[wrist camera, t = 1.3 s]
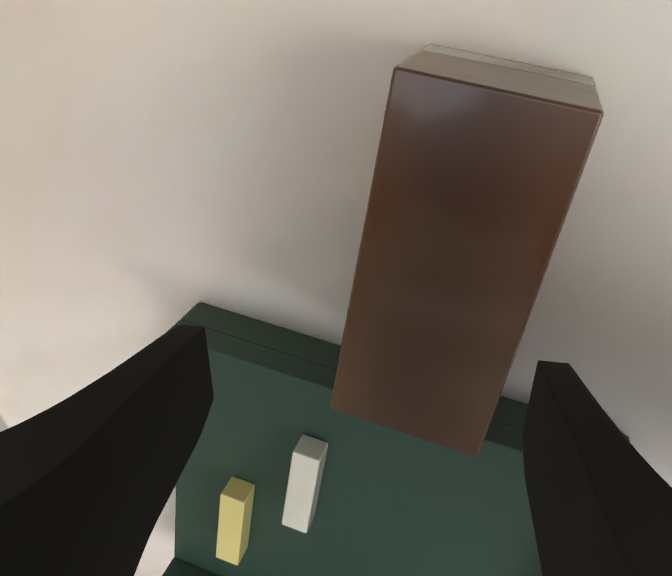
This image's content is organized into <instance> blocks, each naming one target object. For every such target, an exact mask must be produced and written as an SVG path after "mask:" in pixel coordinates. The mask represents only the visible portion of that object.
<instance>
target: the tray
mask: <svg viewBox="0 0 672 576" xmlns="http://www.w3.org/2000/svg"><path fill="white" fill-rule="evenodd" d="M179 324H180V325H190V326H200V327H205V331H206V339H207V347H208V355H209V362H210V370H211V378H212V386H213V393H214V399H213V402H212V405H211V408H210V411H209V414H208V417H207V420H206V423H205V425H204V428H203V431H202V433H201V436H200V438H199V440H198V442H197V444H196V446H195V448H194V450H193V452H192V454H191V456H190V458H189V460H188V462H187V464H186V466H185V468H184V470H183V472H182V474H181V475H180V477H179V479H178V481H177V483H176V517H175V558H173V560H172V561H171V563H170V564H169V566H168V567H167V569H166V571H165V572H164V574H163V575H162V576H543V575H542V570H541V565H540V559H539V554H538V548H537V543H536V538H535V532H534V527H533V522H532V516H531V511H530V505H529V500H528V494H527V488H526V483H525V475H524V459H523V438H522V433H523V428H524V423H525V419H526V414H527V409H528V405H526V404H523V403H520V402H517V401H513V400H510V399H507V398H504V397H501V396H500V397H499V400H498V403H497V406H496V408H495V411H494V414H493V417H492V419H491V422H490V425H489V427H488V430H487V433H486V436H485V438H484V441H483V444H482V446H481V449H480V452H479V454H478V456H472V455H469V454H466V453H463V452H460V451H457V450H454V449H451V448H448V447H445V446H442V445H439V444H436V443H433V442H430V441H427V440H424V439H421V438H418V437H415V436H412V435H409V434H406V433H403V432H400V431H397V430H394V429H391V428H388V427H385V426H382V425H379V424H376V423H373V422H370V421H367V420H364V419H361V418H358V417H355V416H352V415H349V414H346V413H343V412H340V411H337V410H335V409H332V408H330V403H331V397H332V392H333V387H334V381H335V376H336V371H337V365H338V360H339V355H340V349H341V346H338V345H335V344H331V343H328V342H325V341H322V340H319V339H315V338H312V337H309V336H306V335H303V334H299V333H296V332H293V331H290V330H287V329H283V328H280V327H277V326H274V325H271V324H267V323H264V322H261V321H258V320H255V319H251V318H248V317H245V316H242V315H239V314H236V313H232V312H229V311H226V310H223V309H220V308H216V307H213V306H210V305H207V304H204V303H200V302H199V303H197V304H196V305H195V306H194V307H193V308H192V309H191V310H190V311H189V312H188V313H187V314H186V315H185V316H184V317H182V318H181V320H179V321H178V322H177V323H176V324H175V325H174V326H173V327H172V328H171V329H173V328H174V327H176V326H177V325H179ZM171 329H170V330H171ZM170 330H169V331H170ZM167 332H168V331H167ZM167 332H166V333H167ZM302 434H305V435H308V436H311V437H314V438H316V439H319V440H322V441H325V442H327V443H328V449H327V454H326V459H325V464H324V469H323V474H322V480H321V485H320V490H319V495H318V500H317V505H316V510H315V515H314V517H313V519H312V522H311V524H310V526H309V528H308V531H307V532H306V533H303V532H301V531H298V530H295V529H293V528H290V527H287V526H285V525H283V524H282V517H283V511H284V504H285V498H286V491H287V485H288V479H289V472H290V466H291V459H292V453H293V450H294V448H295V447H296V445H297V443H298V441H299V439H300V437H301V436H302ZM624 436H625V435H624ZM625 437H626V439H627V440H628V441H629V437H628V436H625ZM629 442H630V441H629ZM232 476H234V477H236V478H239V479H242V480H244V481H247V482H250V483H253V484H255V490H254V498H253V507H252V515H251V524H250V532H249V541H248V547H247V549H246V551H245V553H244V555H243V557H242V559H241V561H240V562H239V564H238V565H234V564H232V563H229V562H227V561H224V560H222V559H219V558H217V557H216V547H217V534H218V521H219V508H220V495H221V493H222V491H223V489H224V488H225V486H226V485H227V483H228V482H229V480H230V478H231V477H232Z"/></svg>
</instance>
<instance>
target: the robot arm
mask: <svg viewBox="0 0 672 576" xmlns="http://www.w3.org/2000/svg"><path fill="white" fill-rule="evenodd" d="M213 399H214V393H213V386H212V378H211V370H210V362H209V355H208V347H207V339H206V331H205V327H200V326H190V325H180V324H179V325H177V326H176V327H174V328H173V329H171V330H170V331H168V332H167V333H165V334H164V335H162V336H161V337H159V338H158V339H156V340H155V341H154V342H152V343H151V344H149V345H148V346H147V347H145V348H144V349H142V350H141V351H139V352H138V353H137V354H135V355H134V356H132V357H131V358H129V359H128V360H126V361H125V362H123V363H122V364H121V365H119V366H118V367H116V368H115V369H113V370H112V371H110V372H109V373H107V374H106V375H104V376H102V377H101V378H99V379H98V380H96V381H94V382H93V383H91V384H90V385H88V386H86V387H85V388H83V389H82V390H80V391H78V392H77V393H75V394H74V395H72V396H70V397H69V398H67V399H65V400H63V401H62V402H60V403H58V404H56V405H55V406H53V407H51V408H49V409H47V410H45V411H43V412H41V413H39V414H37V415H36V416H34V417H32V418H30V419H28V420H26V421H24V422H22V423H20V424H18V425H15V426H13V427H11V428H9V429H6V430H4V431H2V432H0V576H134V574H135V572H136V569H137V566H138V564H139V561H140V559H141V556H142V554H143V551H144V549H145V546H146V544H147V541H148V539H149V537H150V534H151V532H152V530H153V528H154V526H155V524H156V522H157V520H158V518H159V516H160V514H161V512H162V510H163V508H164V506H165V504H166V502H167V500H168V498H169V497H170V495H171V493H172V491H173V489H174V487H175V485H176V483H177V481H178V479H179V477H180V475H181V474H182V472H183V470H184V468H185V466H186V464H187V462H188V460H189V458H190V456H191V454H192V452H193V450H194V448H195V446H196V444H197V442H198V440H199V438H200V436H201V433H202V431H203V428H204V425H205V423H206V420H207V417H208V414H209V411H210V408H211V405H212V402H213ZM522 438H523V459H524V475H525V483H526V488H527V494H528V500H529V505H530V511H531V516H532V522H533V527H534V532H535V538H536V543H537V548H538V554H539V559H540V565H541V570H542V575H543V576H672V488H671V487H670V486H669V485H668V484H667V483H666V482H665V481H664V480H663V479H662V478H661V477H660V476H659V475H658V473H657V472H656V471H655V470H654V469H653V468H652V467H651V466H650V465H649V464H648V463H647V462H646V461H645V459H644V458H643V457H642V456H641V455H640V454H639V453H638V452H637V450H636V449H635V448H634V447H633V446H632V445H631V444H630V442H629V441H628V440H627V439H626V437H625V436H624V435H623V434H622V433H621V431H620V430H619V429H618V428H617V426H616V425H615V424H614V423H613V422H612V420H611V419H610V418H609V416H608V415H607V414H606V413H605V411H604V410H603V409H602V407H601V406H600V405H599V403H598V402H597V401H596V399H595V398H594V397H593V395H592V394H591V393H590V391H589V390H588V389H587V387H586V386H585V384H584V383H583V382H582V380H581V379H580V378H579V376H578V375H577V373H576V372H575V371H574V369H573V368H572V367H571V366H570V364H569V363H559V362H549V361H539V360H538V363H537V368H536V372H535V377H534V382H533V386H532V391H531V396H530V400H529V405H528V409H527V414H526V419H525V423H524V428H523V433H522Z"/></svg>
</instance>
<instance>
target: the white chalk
mask: <svg viewBox="0 0 672 576" xmlns="http://www.w3.org/2000/svg"><path fill="white" fill-rule="evenodd" d="M327 449H328V443H327V442H325V441H322V440H319V439H316V438H314V437H311V436H308V435H305V434H302V436H301V437H300V439H299V441H298V443H297V445H296V447H295V448H294V450H293V453H292V459H291V466H290V472H289V479H288V485H287V491H286V498H285V504H284V511H283V517H282V524H283V525H285V526H287V527H290V528H293V529H295V530H298V531H301V532H303V533H306V532H307V531H308V528H309V526H310V524H311V522H312V519H313V517H314V515H315V510H316V505H317V500H318V495H319V490H320V485H321V480H322V474H323V469H324V464H325V459H326V454H327Z"/></svg>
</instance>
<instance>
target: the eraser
mask: <svg viewBox="0 0 672 576" xmlns="http://www.w3.org/2000/svg"><path fill="white" fill-rule="evenodd" d="M602 117H603V110H602V106H601V103H600V100H599V97H598V93H597V90H596V85H595V82H594V79H593V78H592V77H588V76H584V75H579V74H574V73H569V72H564V71H559V70H554V69H550V68H545V67H540V66H535V65H530V64H525V63H520V62H515V61H511V60H506V59H501V58H496V57H491V56H486V55H481V54H477V53H472V52H467V51H462V50H457V49H452V48H447V47H443V46H438V45H433V44H430V45H428V46H426V47H425V48H423V49H422V50H421V51H419V52H418V53H416V54H414V55H413V56H411V57H410V58H408V59H406V60H405V61H403V62H402V63H400V64H399V65H397V66H395V67H394V69H393V73H392V78H391V84H390V89H389V94H388V100H387V105H386V110H385V115H384V121H383V126H382V131H381V137H380V142H379V147H378V153H377V158H376V163H375V169H374V174H373V179H372V185H371V190H370V195H369V201H368V206H367V211H366V216H365V222H364V227H363V232H362V238H361V243H360V248H359V254H358V259H357V264H356V270H355V275H354V280H353V286H352V291H351V296H350V302H349V307H348V312H347V318H346V323H345V328H344V333H343V339H342V344H341V349H340V355H339V360H338V365H337V371H336V376H335V381H334V387H333V392H332V397H331V403H330V408H332V409H335V410H337V411H340V412H343V413H346V414H349V415H352V416H355V417H358V418H361V419H364V420H367V421H370V422H373V423H376V424H379V425H382V426H385V427H388V428H391V429H394V430H397V431H400V432H403V433H406V434H409V435H412V436H415V437H418V438H421V439H424V440H427V441H430V442H433V443H436V444H439V445H442V446H445V447H448V448H451V449H454V450H457V451H460V452H463V453H466V454H469V455H472V456H478V454H479V452H480V449H481V446H482V444H483V441H484V438H485V436H486V433H487V430H488V427H489V425H490V422H491V419H492V417H493V414H494V411H495V408H496V406H497V403H498V400H499V397H500V395H501V392H502V389H503V387H504V384H505V381H506V378H507V376H508V373H509V370H510V368H511V365H512V362H513V359H514V357H515V354H516V351H517V349H518V346H519V343H520V340H521V338H522V335H523V332H524V330H525V327H526V324H527V321H528V319H529V316H530V313H531V310H532V308H533V305H534V302H535V300H536V297H537V294H538V291H539V289H540V286H541V283H542V281H543V278H544V275H545V272H546V270H547V267H548V264H549V262H550V259H551V256H552V253H553V251H554V248H555V245H556V243H557V240H558V237H559V234H560V232H561V229H562V226H563V223H564V221H565V218H566V215H567V213H568V210H569V207H570V204H571V202H572V199H573V196H574V194H575V191H576V188H577V185H578V183H579V180H580V177H581V175H582V172H583V169H584V166H585V164H586V161H587V158H588V156H589V153H590V150H591V147H592V145H593V142H594V139H595V136H596V134H597V131H598V128H599V126H600V123H601V120H602Z"/></svg>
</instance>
